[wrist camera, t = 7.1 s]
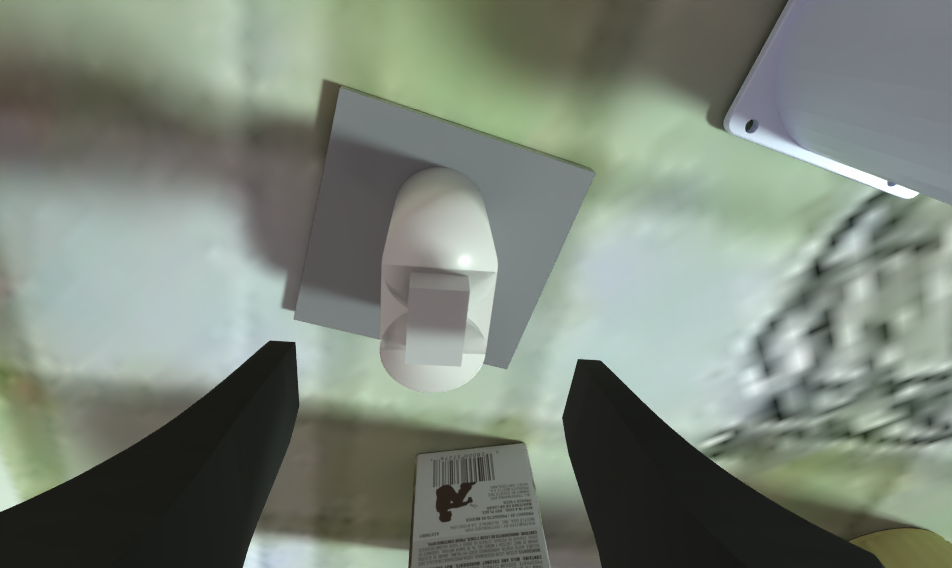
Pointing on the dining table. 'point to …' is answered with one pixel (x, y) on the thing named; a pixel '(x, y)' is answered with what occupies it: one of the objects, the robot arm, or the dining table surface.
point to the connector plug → (437, 282)
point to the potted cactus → (907, 548)
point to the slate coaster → (373, 198)
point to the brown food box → (476, 510)
